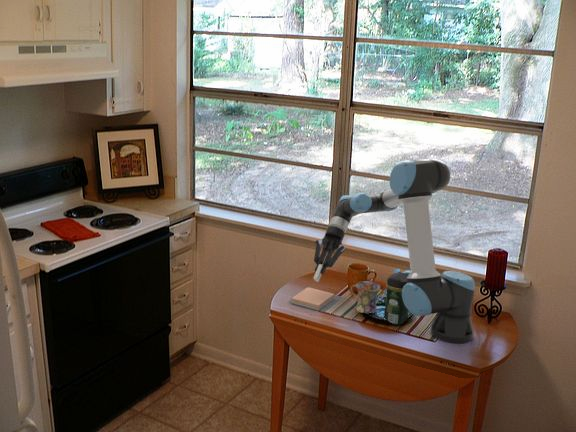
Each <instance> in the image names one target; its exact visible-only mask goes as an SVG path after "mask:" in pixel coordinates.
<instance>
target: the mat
mask: <svg viewBox="0 0 576 432" xmlns="http://www.w3.org/2000/svg"><path fill="white" fill-rule="evenodd" d="M344 298H345V297H344V296H341V295H337V294H334V299H333V300H331V301H330V302H329V303H327V304H326V305H325V306H323V307H322V308H321V309H319V310H316V309H312V308H308V307H305V306H301V305H297V304H294V303H291V300H289V301H288V302H287V303H288V304H291V305H296V306H299V307H302V308H306V309H311V310H313V311H317V312H321V313H326V312H328V310H329V309H331V308H332V307H333V306H335V305H336V304H338V303H339V302H340V301H342V299H344Z"/></svg>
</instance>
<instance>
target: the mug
mask: <svg viewBox="0 0 576 432" xmlns="http://www.w3.org/2000/svg"><path fill="white" fill-rule="evenodd" d="M353 287H355V288H356V289H357V293H358V296H356V294H355V293H354V291H353ZM380 289H381V286H380V285H379V284H378V283H377V282H373V281H368V280H367V281H365V280H364V281H359V282H357V283H356V284H353V285H351V286H350V292H351V294H352V295H353V297H354V298H355V299H356V302H357V304H356V305H355V311H357V312H359V313H362V314H363V312H375V313H377V312H376V311H378V308H377V304H376V301H377V297H378V296H377V295H378V293H379V291H380Z"/></svg>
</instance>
